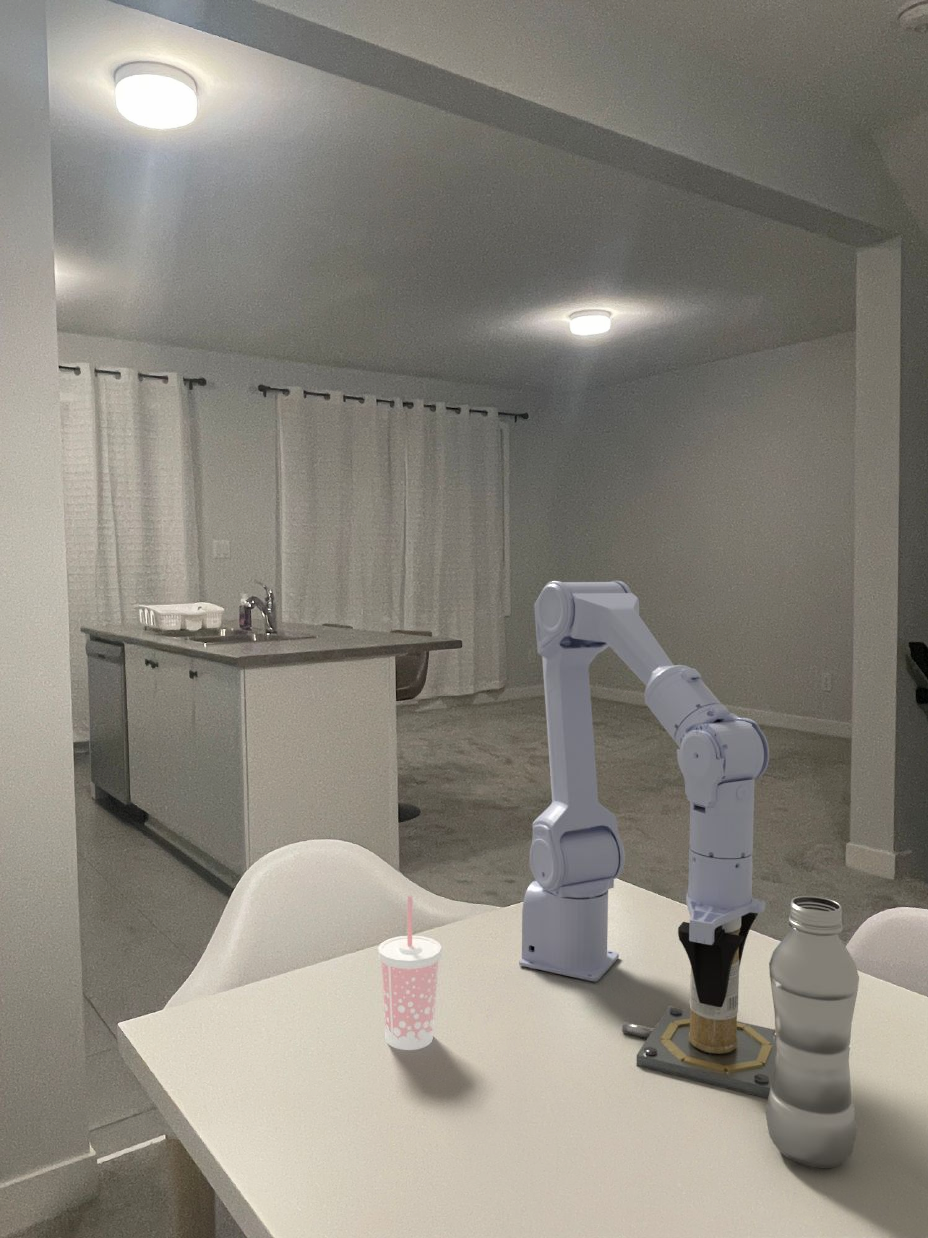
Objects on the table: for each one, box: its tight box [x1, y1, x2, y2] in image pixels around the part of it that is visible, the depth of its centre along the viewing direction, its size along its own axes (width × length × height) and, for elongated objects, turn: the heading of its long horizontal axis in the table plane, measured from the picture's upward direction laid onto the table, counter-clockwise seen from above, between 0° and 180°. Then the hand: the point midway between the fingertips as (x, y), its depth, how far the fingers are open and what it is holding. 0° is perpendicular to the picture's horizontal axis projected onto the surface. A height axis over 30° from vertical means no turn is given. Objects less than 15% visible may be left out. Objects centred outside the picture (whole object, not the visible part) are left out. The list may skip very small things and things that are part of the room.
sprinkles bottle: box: [689, 917, 741, 1054], centre depth 90 cm, size 5×5×13 cm
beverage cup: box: [377, 895, 443, 1051], centre depth 93 cm, size 6×6×14 cm
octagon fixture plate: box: [621, 1005, 776, 1100], centre depth 91 cm, size 15×11×1 cm
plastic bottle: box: [765, 895, 860, 1169], centre depth 75 cm, size 6×7×20 cm
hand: (717, 993), depth 90 cm, fingers open, 5 cm apart
